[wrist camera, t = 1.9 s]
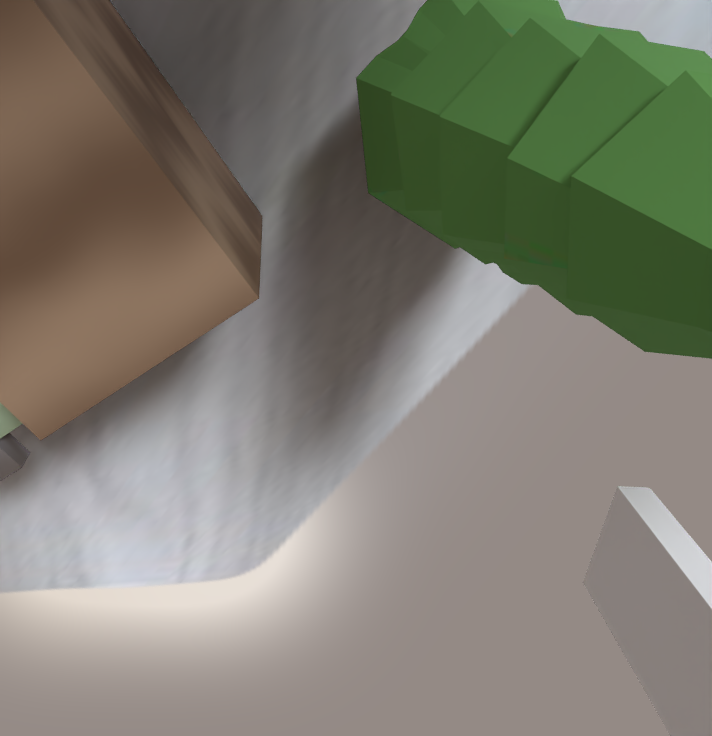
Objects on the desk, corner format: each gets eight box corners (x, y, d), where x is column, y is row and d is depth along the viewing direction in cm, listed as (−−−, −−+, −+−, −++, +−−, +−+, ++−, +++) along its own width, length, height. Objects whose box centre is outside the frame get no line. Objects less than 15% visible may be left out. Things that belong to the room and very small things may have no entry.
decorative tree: (476, 226, 36) (1058, 770, 9) (308, 169, 34) (450, 677, 7) (557, 34, 32) (1897, 41, 6) (374, -44, 30) (1175, -632, 3)
